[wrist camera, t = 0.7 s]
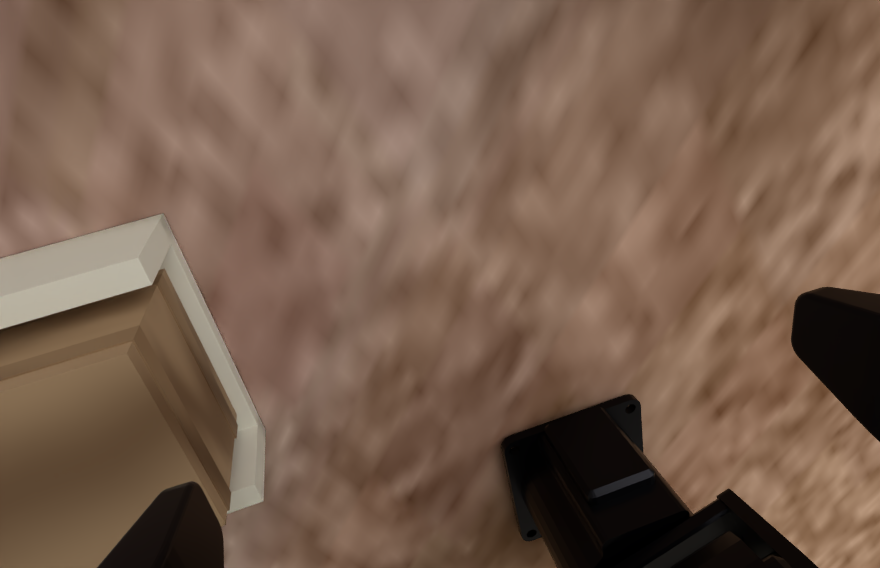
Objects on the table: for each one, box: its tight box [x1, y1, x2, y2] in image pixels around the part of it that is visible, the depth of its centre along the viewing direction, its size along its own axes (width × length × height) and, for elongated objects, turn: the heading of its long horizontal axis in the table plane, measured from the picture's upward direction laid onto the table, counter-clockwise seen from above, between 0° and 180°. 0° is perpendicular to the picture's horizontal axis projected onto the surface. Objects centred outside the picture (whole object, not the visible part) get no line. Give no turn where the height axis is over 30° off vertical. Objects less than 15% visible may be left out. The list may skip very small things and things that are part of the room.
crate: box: [0, 268, 238, 568], centre depth 16 cm, size 6×6×5 cm
